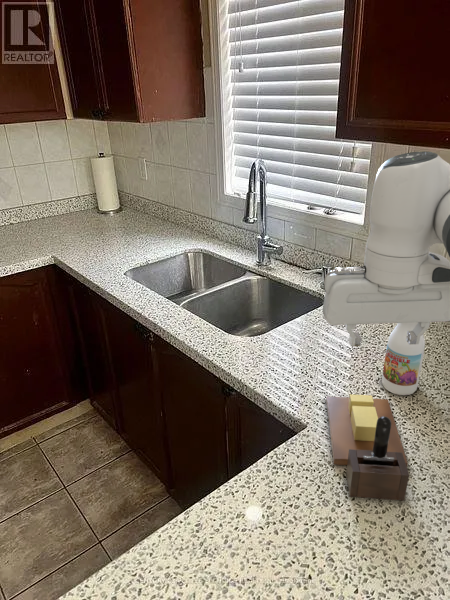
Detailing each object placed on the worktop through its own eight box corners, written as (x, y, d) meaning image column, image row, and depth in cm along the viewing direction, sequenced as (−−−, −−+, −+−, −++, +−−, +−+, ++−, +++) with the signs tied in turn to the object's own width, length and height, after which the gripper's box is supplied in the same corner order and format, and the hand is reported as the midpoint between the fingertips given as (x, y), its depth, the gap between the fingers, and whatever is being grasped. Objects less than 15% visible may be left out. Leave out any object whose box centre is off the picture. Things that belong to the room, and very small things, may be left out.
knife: (387, 482, 79) (399, 414, 72) (390, 493, 77) (402, 423, 70) (358, 480, 79) (367, 412, 72) (360, 490, 77) (369, 421, 70)
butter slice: (370, 408, 94) (371, 395, 92) (371, 415, 92) (373, 402, 90) (348, 407, 95) (349, 394, 93) (349, 414, 93) (351, 401, 91)
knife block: (397, 477, 80) (402, 452, 77) (404, 500, 75) (409, 475, 73) (346, 473, 81) (348, 448, 78) (349, 496, 76) (352, 471, 74)
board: (387, 404, 97) (387, 399, 96) (406, 469, 81) (407, 463, 80) (326, 401, 99) (326, 396, 98) (333, 464, 83) (334, 458, 82)
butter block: (373, 420, 91) (375, 406, 89) (378, 441, 85) (380, 427, 84) (350, 419, 91) (351, 405, 90) (354, 440, 86) (356, 426, 84)
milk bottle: (387, 372, 108) (398, 297, 99) (420, 382, 104) (435, 306, 95) (376, 388, 102) (387, 311, 93) (411, 400, 98) (426, 321, 89)
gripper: (329, 276, 65) (323, 356, 71) (472, 271, 64) (453, 352, 70) (321, 260, 70) (316, 335, 76) (452, 255, 70) (436, 331, 76)
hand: (383, 343), depth 73 cm, fingers open, 8 cm apart
